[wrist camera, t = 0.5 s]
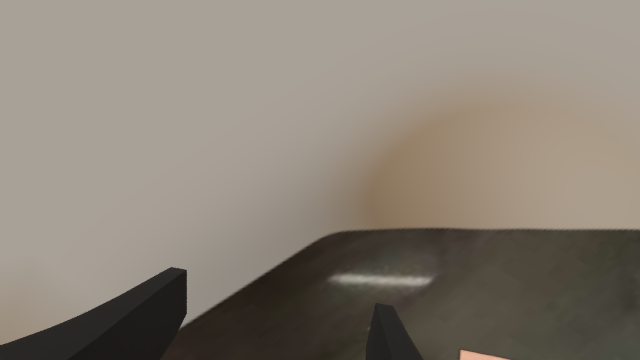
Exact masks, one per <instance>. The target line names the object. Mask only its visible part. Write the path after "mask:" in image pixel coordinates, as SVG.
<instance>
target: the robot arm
mask: <svg viewBox="0 0 640 360" xmlns="http://www.w3.org/2000/svg"><path fill="white" fill-rule="evenodd" d="M186 314H187V270H184V269H179V268H173V267H171V268H169V269H167V270H165V271H163V272H161V273H159V274H158V275H156V276H154V277H152V278H150V279H149V280H147V281H145V282H143V283H141V284H140V285H138V286H136V287H134V288H132V289H131V290H129V291H127V292H125V293H123V294H122V295H120V296H118V297H116V298H114V299H112V300H110V301H108V302H106V303H104V304H102V305H100V306H98V307H96V308H94V309H92V310H90V311H88V312H86V313H84V314H81V315H79V316H77V317H75V318H72V319H70V320H67V321H65V322H63V323H60V324H58V325H56V326H53V327H51V328H48V329H45V330H43V331H40V332H37V333H34V334H32V335H29V336H26V337H23V338H20V339H18V340H15V341H12V342H9V343H6V344H3V345H0V360H160V358H161V357H162V355H163V354H164V352H165V351H166V349H167V348H168V346H169V345H170V343H171V342H172V340H173V339H174V337H175V335H176V333H177V331H178V330H179V328H180V326H181V324H182V322H183V320H184V318H185V316H186ZM366 360H423V358H422V357H421V355H420V353H419V352H418V350H417V348H416V347H415V345H414V343H413V342H412V340H411V338H410V337H409V335H408V333H407V331H406V330H405V328H404V326H403V324H402V322H401V320H400V318H399V316H398V315H397V313H396V311H395V309H394V307H393V306H389V305H384V304H378V303H376V305H375V309H374V314H373V318H372V323H371V327H370V331H369V336H368V340H367V345H366Z"/></svg>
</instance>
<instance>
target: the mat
mask: <svg viewBox="0 0 640 360" xmlns="http://www.w3.org/2000/svg"><path fill="white" fill-rule="evenodd" d="M459 360H511V359H506V358H501V357H496V356H491V355H486V354H481V353H476V352H471V351H466V350H461V349H460V355H459Z"/></svg>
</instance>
